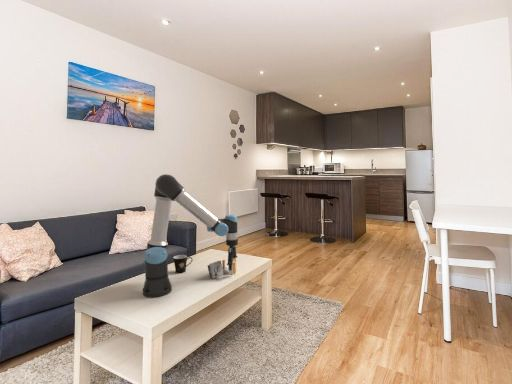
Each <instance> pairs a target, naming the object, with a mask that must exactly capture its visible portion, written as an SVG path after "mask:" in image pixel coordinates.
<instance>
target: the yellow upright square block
mask: <svg viewBox="0 0 512 384" xmlns="http://www.w3.org/2000/svg"><path fill="white" fill-rule="evenodd" d="M232 264H233V275H235V274H237V260H236V261H233V263H232Z"/></svg>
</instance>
